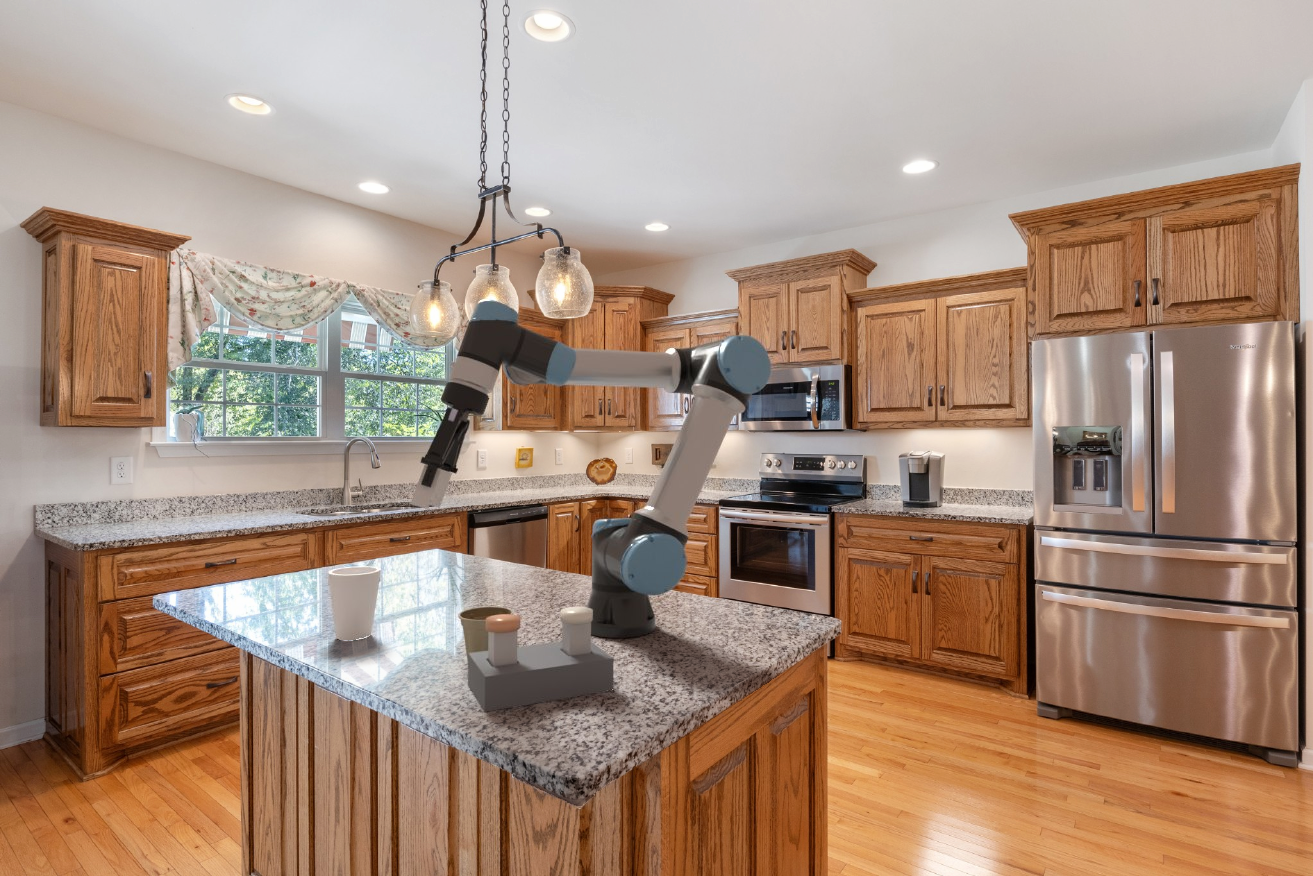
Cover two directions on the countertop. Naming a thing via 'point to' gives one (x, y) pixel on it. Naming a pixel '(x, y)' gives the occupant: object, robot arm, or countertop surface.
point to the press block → (538, 676)
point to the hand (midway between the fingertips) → (425, 506)
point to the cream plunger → (576, 630)
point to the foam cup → (354, 600)
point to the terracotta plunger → (502, 639)
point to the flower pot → (478, 626)
